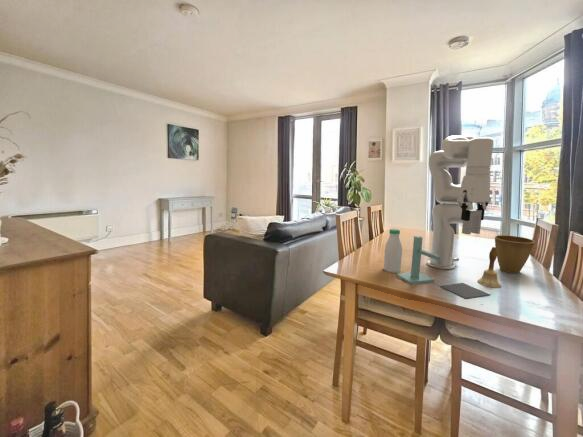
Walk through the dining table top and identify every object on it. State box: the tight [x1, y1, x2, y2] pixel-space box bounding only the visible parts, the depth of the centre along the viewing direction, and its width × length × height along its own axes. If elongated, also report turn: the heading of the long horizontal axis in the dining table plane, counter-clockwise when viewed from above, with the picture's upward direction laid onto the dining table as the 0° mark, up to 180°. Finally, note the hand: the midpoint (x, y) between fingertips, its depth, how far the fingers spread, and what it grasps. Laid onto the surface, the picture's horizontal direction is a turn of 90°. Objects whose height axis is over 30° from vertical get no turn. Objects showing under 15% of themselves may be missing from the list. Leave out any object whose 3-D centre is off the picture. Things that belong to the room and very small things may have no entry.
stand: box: [395, 235, 440, 285], centre depth 117 cm, size 12×17×19 cm
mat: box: [439, 282, 491, 300], centre depth 109 cm, size 12×12×1 cm
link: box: [461, 209, 482, 235], centre depth 105 cm, size 6×2×9 cm, turn 106°
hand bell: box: [477, 246, 502, 288], centre depth 116 cm, size 8×8×16 cm
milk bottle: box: [383, 228, 403, 274], centre depth 131 cm, size 8×8×20 cm
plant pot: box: [494, 234, 536, 274], centre depth 132 cm, size 15×15×16 cm
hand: (472, 219), depth 105 cm, fingers closed on link, 6 cm apart
